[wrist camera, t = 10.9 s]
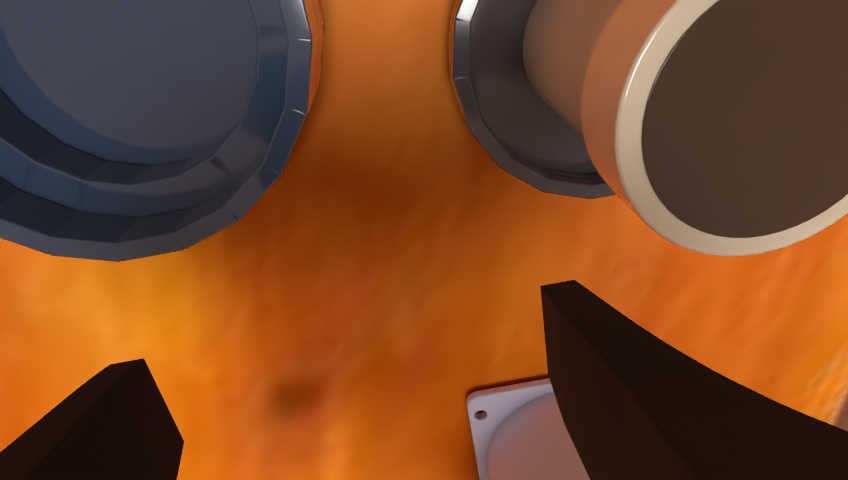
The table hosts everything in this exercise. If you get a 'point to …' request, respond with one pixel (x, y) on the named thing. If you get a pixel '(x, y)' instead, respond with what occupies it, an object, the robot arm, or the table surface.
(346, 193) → the table surface
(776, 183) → the clay pot
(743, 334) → the table surface
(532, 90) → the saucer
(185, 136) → the planter
